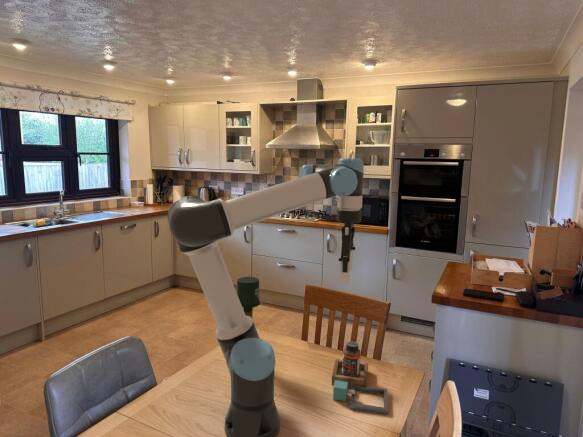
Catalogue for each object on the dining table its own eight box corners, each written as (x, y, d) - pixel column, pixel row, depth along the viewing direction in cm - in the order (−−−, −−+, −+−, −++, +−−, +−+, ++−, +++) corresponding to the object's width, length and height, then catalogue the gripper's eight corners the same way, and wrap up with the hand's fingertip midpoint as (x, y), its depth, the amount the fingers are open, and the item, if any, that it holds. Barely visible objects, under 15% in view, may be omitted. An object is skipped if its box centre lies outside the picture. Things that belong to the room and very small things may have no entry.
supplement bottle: (339, 377, 137) (341, 345, 135) (344, 369, 143) (345, 338, 141) (357, 381, 135) (359, 349, 133) (361, 372, 141) (362, 341, 139)
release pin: (333, 399, 127) (333, 387, 126) (334, 391, 130) (334, 380, 130) (354, 402, 125) (355, 390, 125) (355, 394, 129) (355, 383, 128)
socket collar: (349, 409, 122) (349, 404, 122) (352, 388, 133) (352, 384, 132) (387, 414, 120) (387, 409, 120) (387, 393, 130) (387, 389, 130)
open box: (331, 384, 135) (331, 376, 134) (335, 367, 146) (335, 359, 145) (366, 389, 133) (367, 380, 132) (367, 371, 144) (368, 363, 143)
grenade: (258, 364, 146) (259, 283, 142) (234, 364, 147) (234, 283, 142) (260, 353, 155) (261, 276, 150) (237, 352, 155) (237, 275, 150)
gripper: (340, 203, 139) (338, 264, 143) (332, 214, 115) (329, 286, 119) (363, 204, 138) (360, 266, 141) (359, 215, 114) (356, 289, 117)
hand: (346, 275), depth 130 cm, fingers open, 13 cm apart
